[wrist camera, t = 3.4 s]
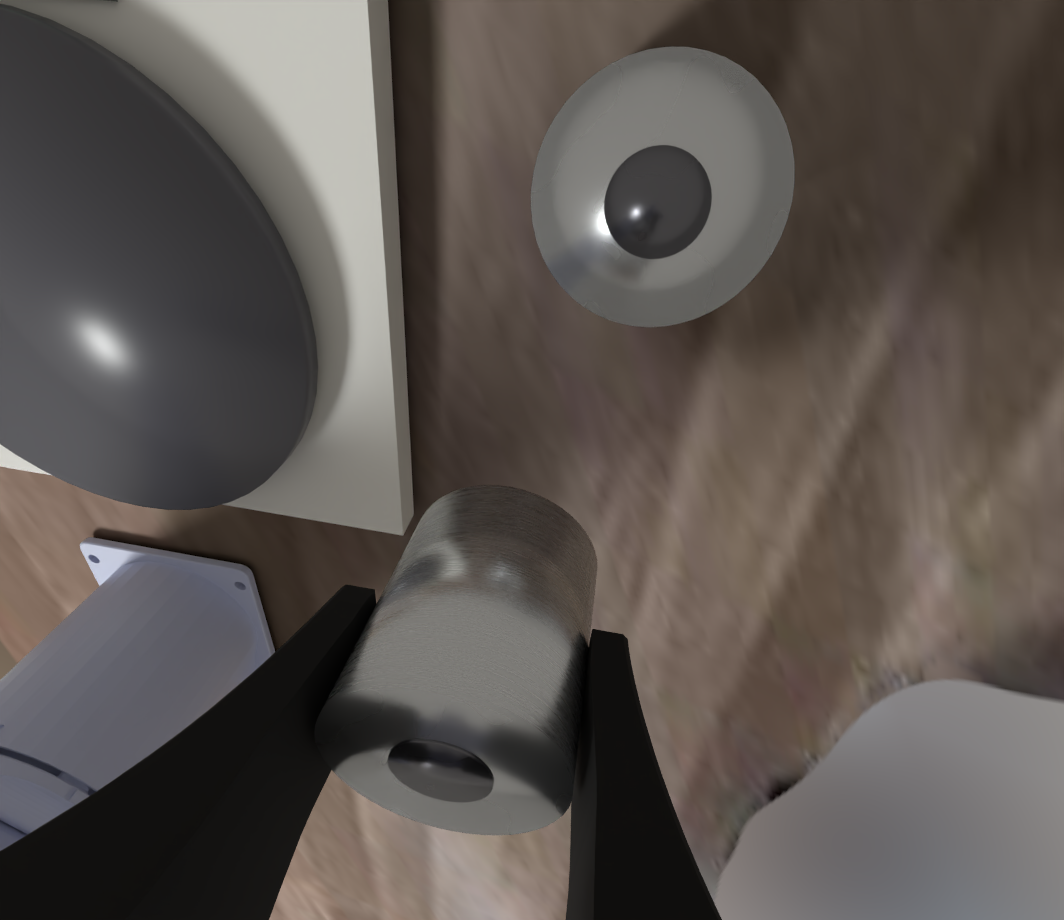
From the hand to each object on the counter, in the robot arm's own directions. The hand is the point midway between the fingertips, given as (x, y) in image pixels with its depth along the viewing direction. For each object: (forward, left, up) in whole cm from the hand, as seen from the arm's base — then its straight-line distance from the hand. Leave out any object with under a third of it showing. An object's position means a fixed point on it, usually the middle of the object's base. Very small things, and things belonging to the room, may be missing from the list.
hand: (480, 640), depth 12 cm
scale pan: (+3, +13, -7) cm, 15 cm away
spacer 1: (0, 0, -2) cm, 2 cm away
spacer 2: (+8, -2, -8) cm, 12 cm away
